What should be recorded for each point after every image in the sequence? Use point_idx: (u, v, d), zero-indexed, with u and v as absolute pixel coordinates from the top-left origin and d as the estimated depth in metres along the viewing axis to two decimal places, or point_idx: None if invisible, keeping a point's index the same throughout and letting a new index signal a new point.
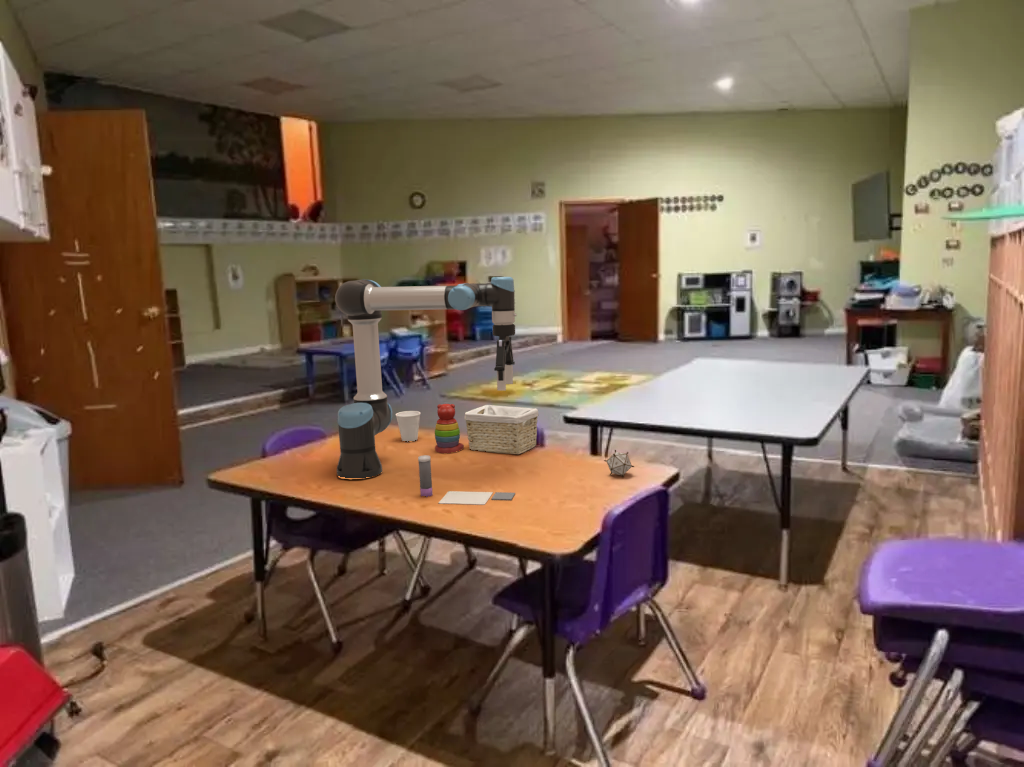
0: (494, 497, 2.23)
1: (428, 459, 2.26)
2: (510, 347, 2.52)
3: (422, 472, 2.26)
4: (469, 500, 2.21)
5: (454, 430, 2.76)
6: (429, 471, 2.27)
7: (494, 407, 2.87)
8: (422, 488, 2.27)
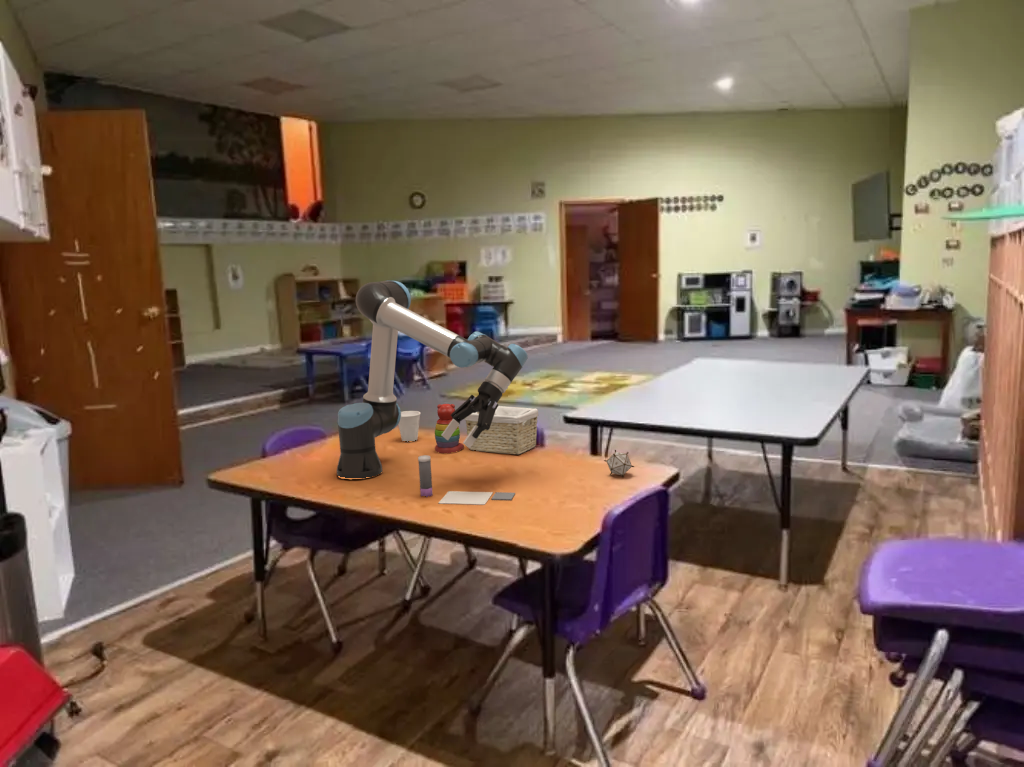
0: (494, 497, 2.23)
1: (428, 459, 2.26)
2: None
3: (422, 472, 2.26)
4: (469, 500, 2.21)
5: None
6: (429, 471, 2.27)
7: None
8: (422, 488, 2.27)
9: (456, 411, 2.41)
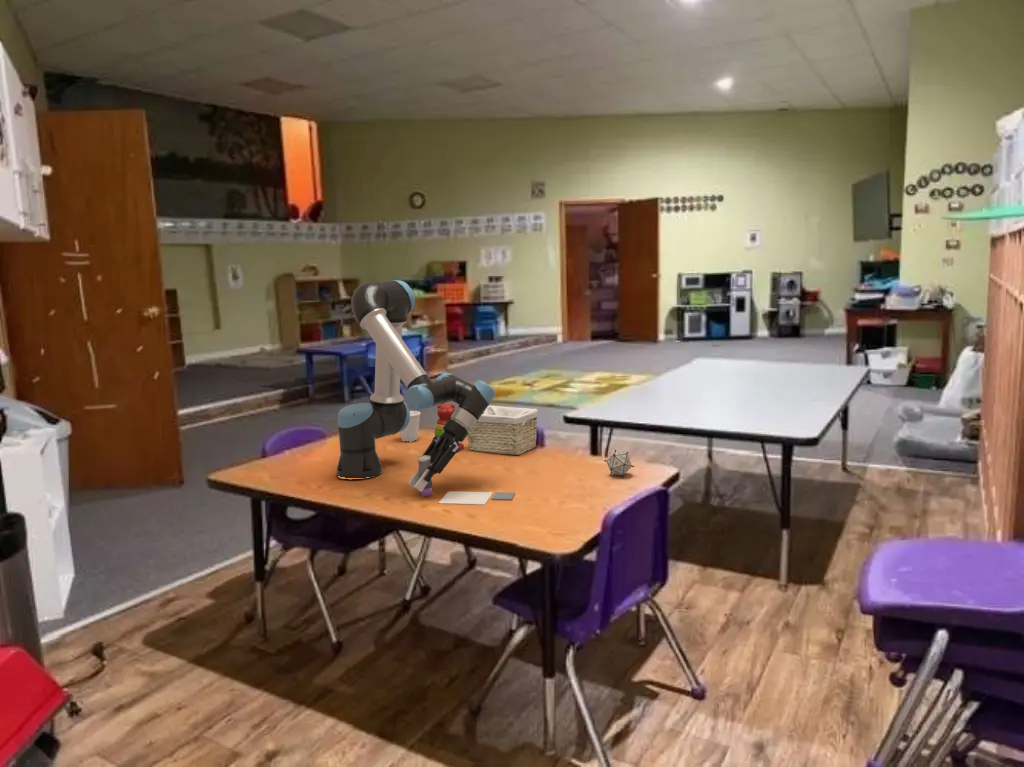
0: (494, 497, 2.23)
1: (428, 459, 2.26)
2: None
3: (422, 472, 2.26)
4: (469, 500, 2.21)
5: None
6: None
7: (494, 407, 2.86)
8: None
9: None
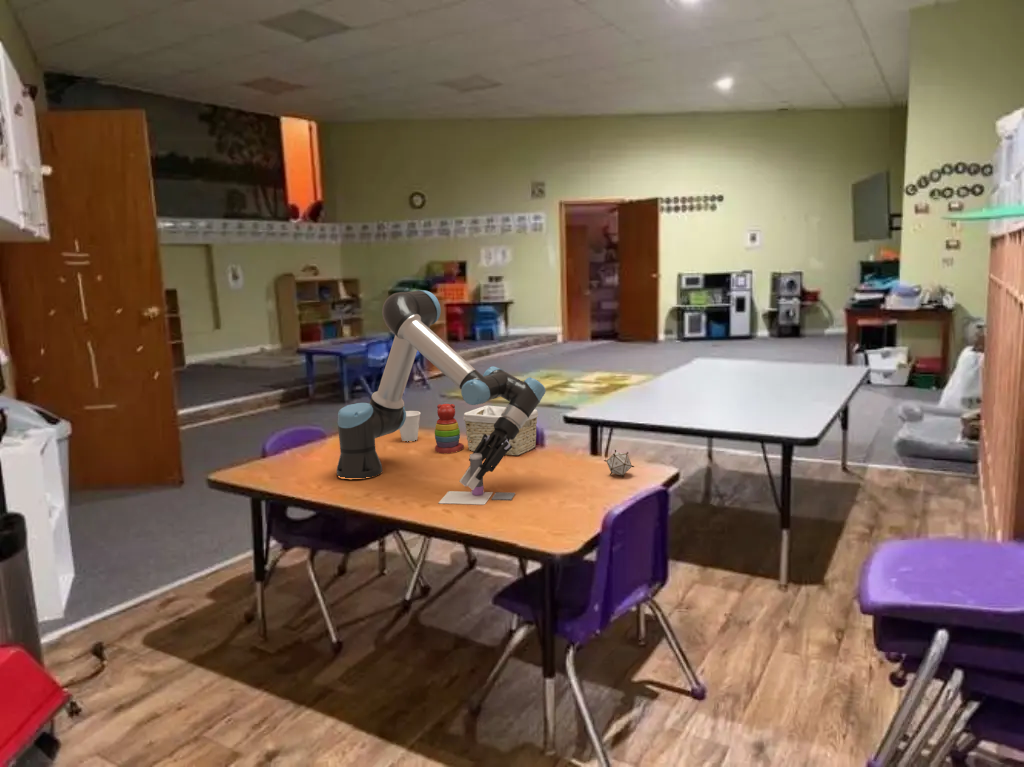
0: (494, 497, 2.23)
1: (480, 457, 2.23)
2: None
3: (474, 470, 2.23)
4: (469, 500, 2.21)
5: (454, 430, 2.76)
6: None
7: (494, 408, 2.86)
8: None
9: None
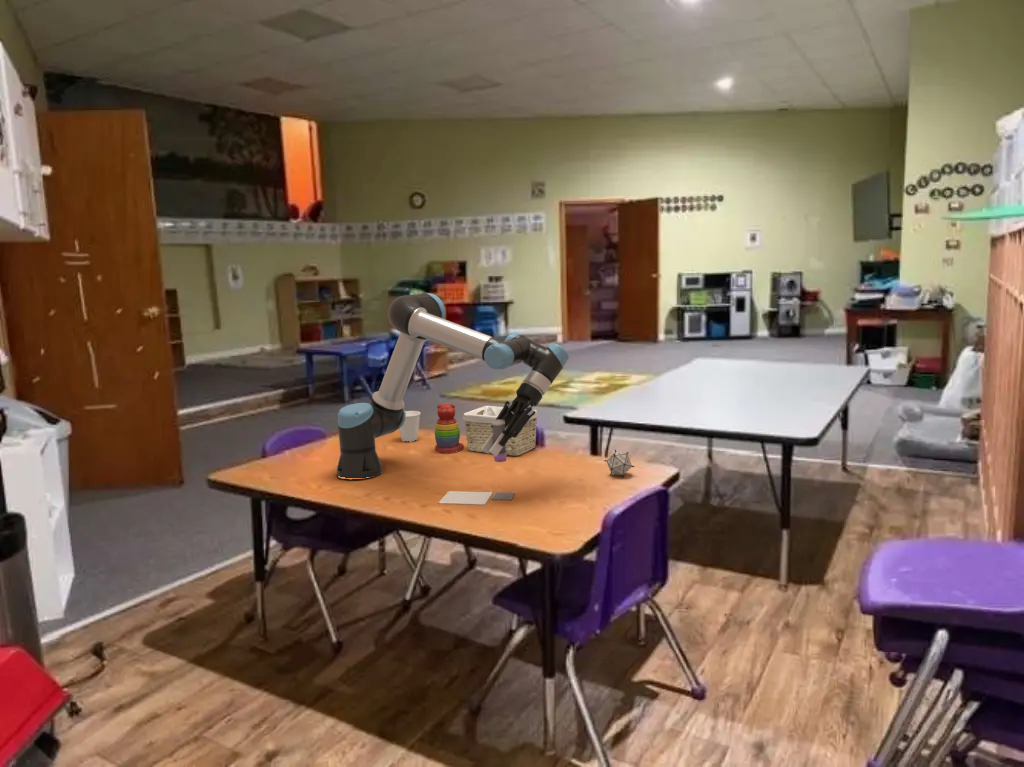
0: (494, 497, 2.23)
1: (503, 423, 2.19)
2: None
3: (497, 437, 2.19)
4: (469, 500, 2.21)
5: (454, 430, 2.76)
6: None
7: (494, 408, 2.85)
8: None
9: None
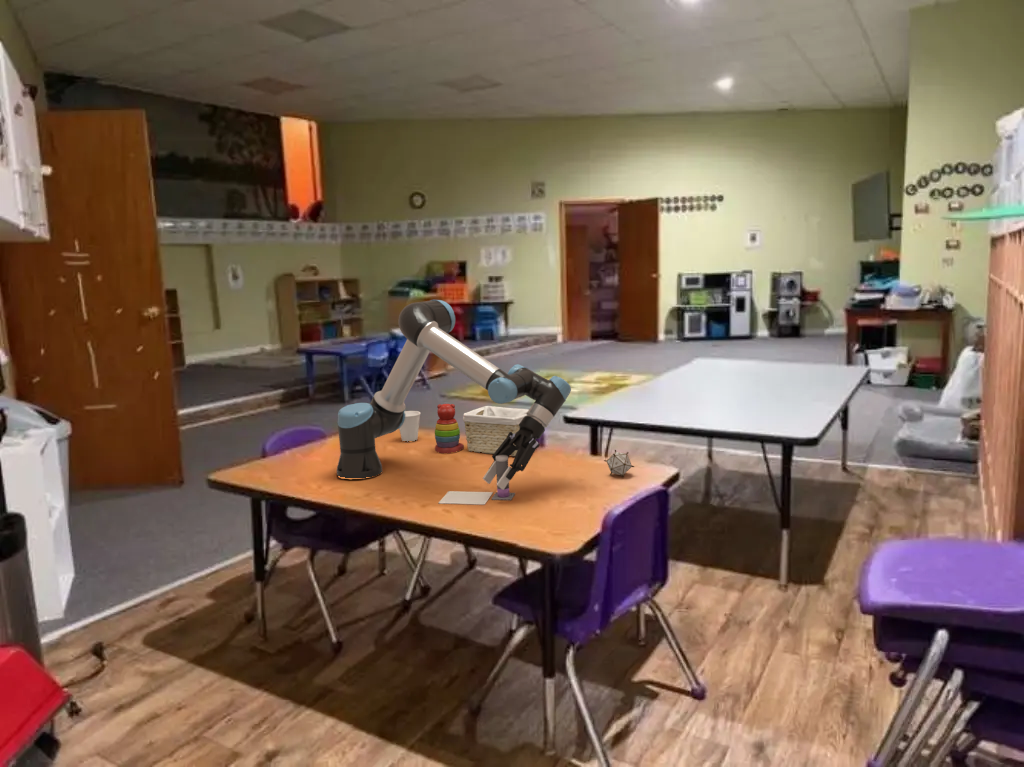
0: (494, 497, 2.23)
1: (506, 459, 2.21)
2: None
3: (500, 472, 2.21)
4: (469, 500, 2.21)
5: (454, 430, 2.76)
6: None
7: (493, 408, 2.85)
8: (499, 489, 2.22)
9: (497, 451, 2.28)
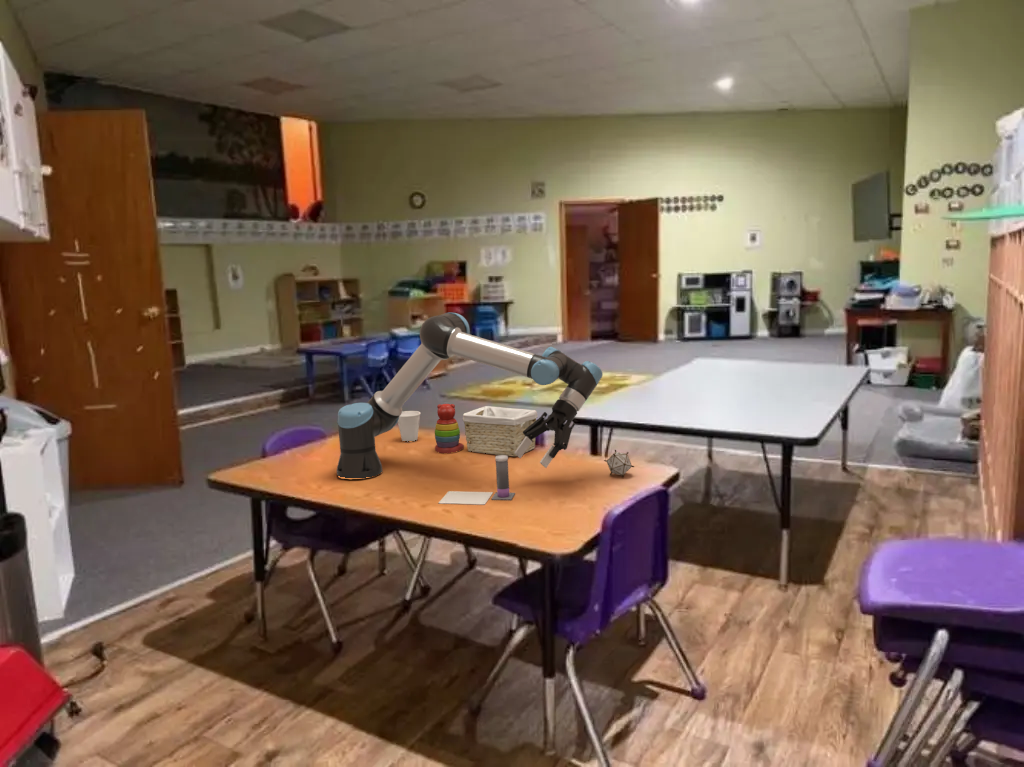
0: (494, 497, 2.23)
1: (506, 459, 2.21)
2: None
3: (500, 472, 2.21)
4: (469, 500, 2.21)
5: (454, 430, 2.76)
6: (507, 471, 2.22)
7: (493, 408, 2.85)
8: (499, 489, 2.22)
9: (529, 428, 2.37)
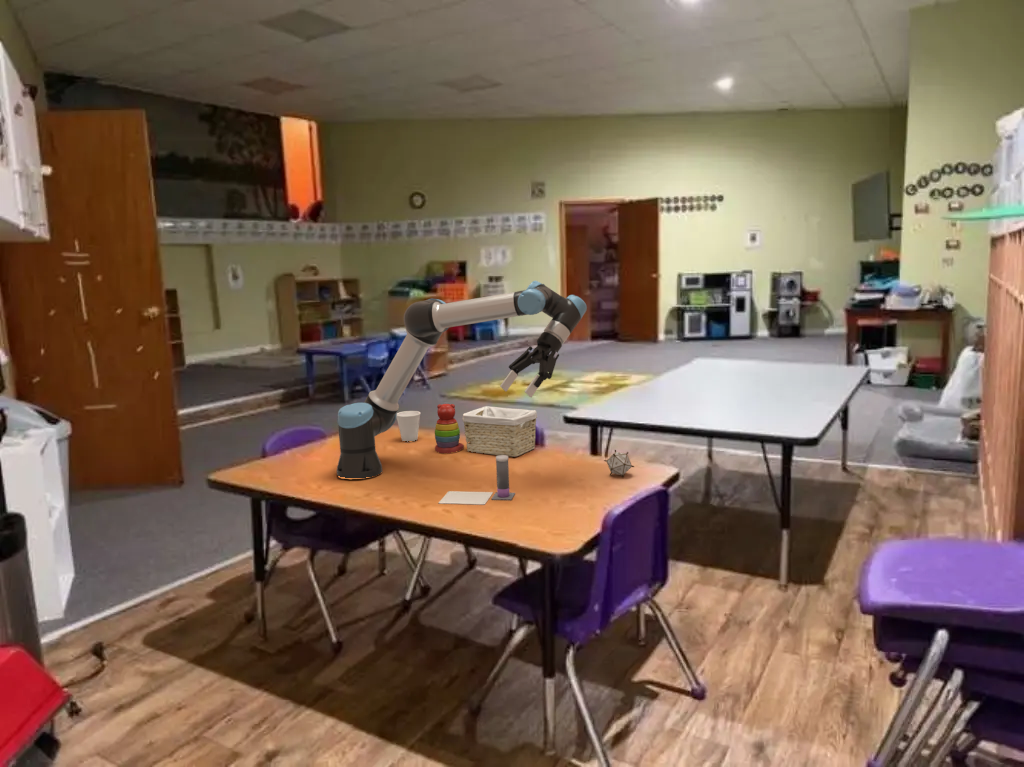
0: (494, 497, 2.23)
1: (506, 459, 2.21)
2: None
3: (500, 472, 2.21)
4: (469, 500, 2.21)
5: (454, 430, 2.76)
6: (507, 471, 2.22)
7: (493, 408, 2.84)
8: (500, 489, 2.22)
9: (514, 363, 2.39)
